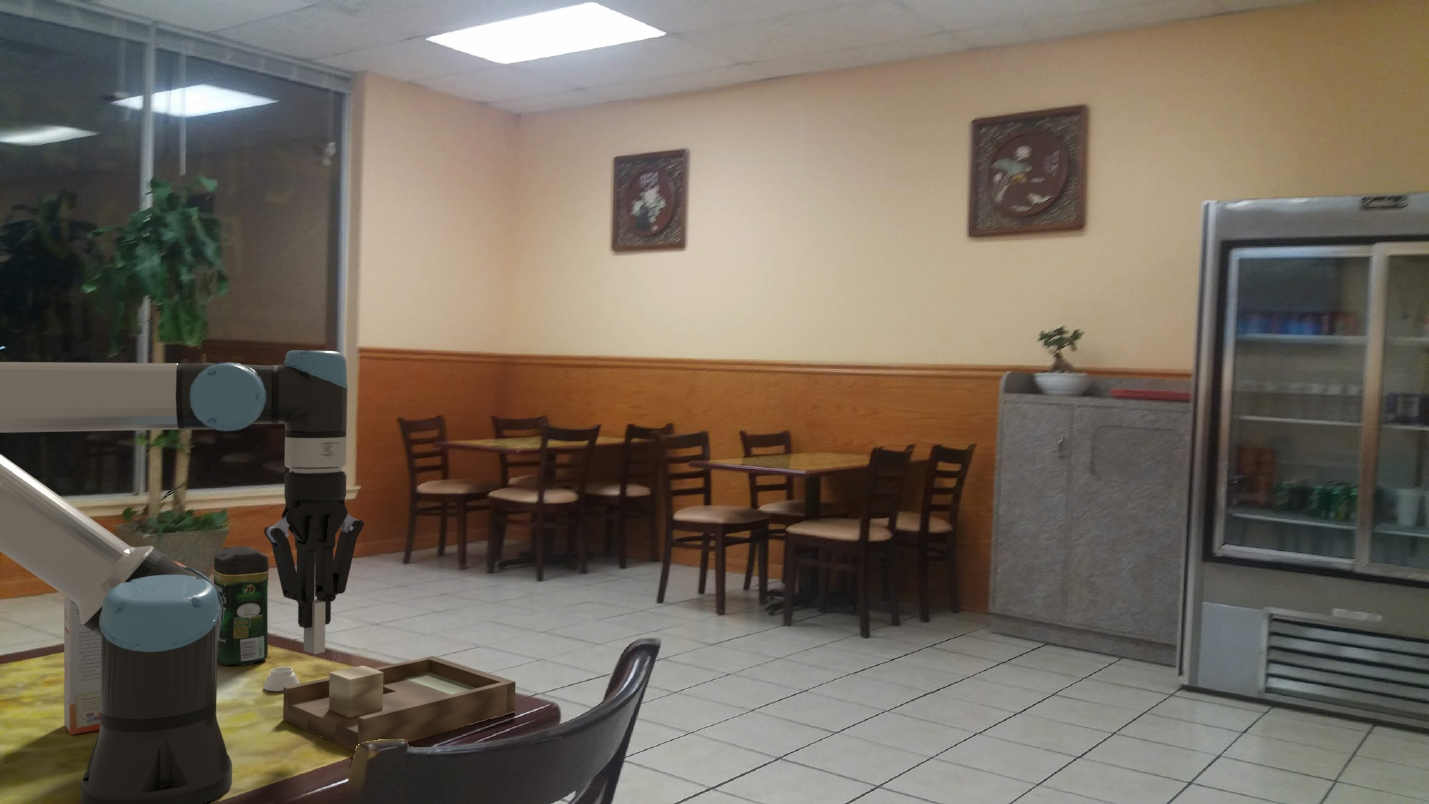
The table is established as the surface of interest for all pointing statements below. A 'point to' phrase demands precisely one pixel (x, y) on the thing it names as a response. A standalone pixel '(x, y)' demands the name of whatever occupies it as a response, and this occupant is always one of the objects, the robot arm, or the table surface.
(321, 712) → the box
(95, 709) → the cracker box
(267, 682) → the white tapered collar
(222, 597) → the coffee jar
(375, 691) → the maple cube
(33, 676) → the table surface
